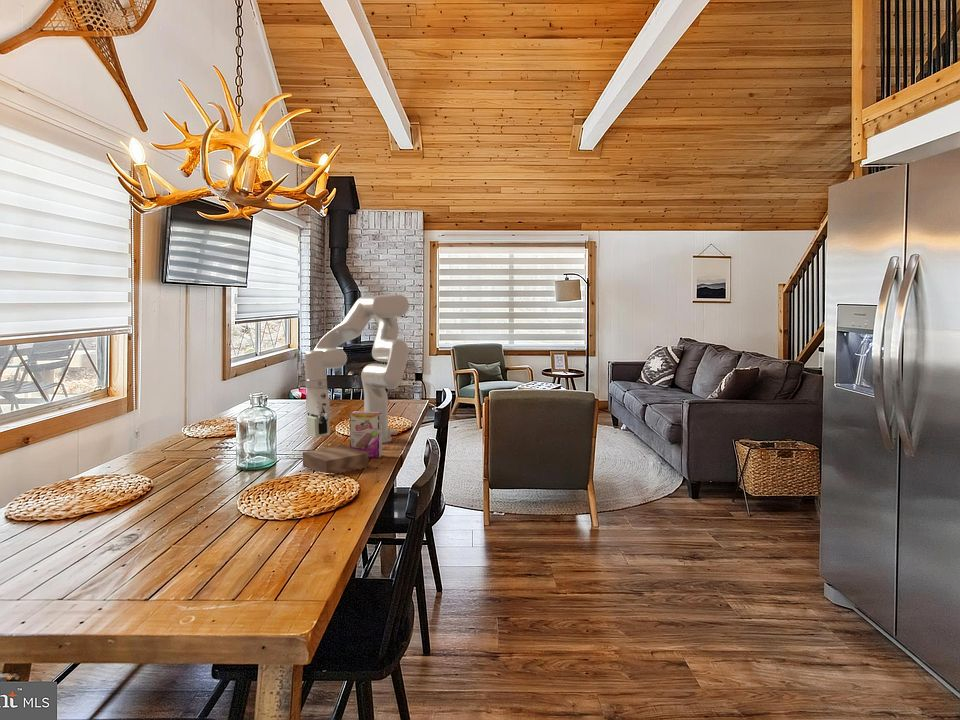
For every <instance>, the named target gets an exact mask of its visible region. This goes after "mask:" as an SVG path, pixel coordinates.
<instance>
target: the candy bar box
mask: <svg viewBox="0 0 960 720" xmlns="http://www.w3.org/2000/svg"><path fill="white" fill-rule="evenodd" d="M349 447H350V448H353V449H357V450H360V451H363V452H366V453H368V457H369V458H371V459H372V458H375V459H379V458H381V457H382V456H383V443H382V412H365V411H364V410H363V411H362V410H361V411H360V410H357V411H356V410H353V411H352V412H350V413H349ZM369 458H368V459H369Z"/></svg>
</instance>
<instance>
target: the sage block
mask: <svg viewBox="0 0 960 720" xmlns="http://www.w3.org/2000/svg"><path fill="white" fill-rule="evenodd" d="M322 414H323V413H321V415H322ZM305 417H306V430H307V433H306V434H307V436H310V437H312V438H314V439H315V438H316V439H317V438H321V437H326V436H330V435H331V426H330V425H331V423H330V417H329V418H328V422H327V433H325V434H319V425H318V423H319V418H318V416H317V415H312V416H308V415H307V416H305ZM323 417H324V416H322V417H321V419H322V418H323Z"/></svg>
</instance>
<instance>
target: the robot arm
mask: <svg viewBox="0 0 960 720" xmlns="http://www.w3.org/2000/svg"><path fill="white" fill-rule="evenodd" d="M409 309H410V303H409V300H408V298H407V297H406V296H404V295H401V294H380V295H376V296H375V295H374V296H373V295H371V296H360V297H359V298H358V299H357V300H356V301H355V302H354V303H353V305H352V307H350V310H349V311H348V312H347V314H346V315H345V316H344V318H343V319H342V322H341V323H339V324H338V325H336V326H335V327H333V328H332V329H331V330H330V331H328V332H327V333H326V334H324V335H323V336H322V337H321V338H320V340H319V341H318V342H317V343H316V346H315V347H314V349H312V350H311V349H310V350H307V351H305V353H304V373H305V378H304V379H305V388H306V391H305V392H306V396H305V405H306V409H305V411H306V413H307V416H312V415H317V416H318V418H319V423H318V425H319V434H325V433H327V422H328V418H329V419H330V414H331V403H330V402H331V401H330V394H329V390H328V380H327V379H328V378H327V369H341V368H342V367H344V366H345V365H346V363H347V362H348V356H347V354H346V352H345V351H344V350H343V349H342V348H341V349H340V348H338V347H339V346H341V345H342V344H345V343H347V342H349V341H351V340H354V339H356V338H358V337H360V336H361V334H362V333H363V331H364V330H365V329H366V327H367V325H368V324H369V322H370V321H371V319H376V320H377V325H378V326H377V330H376V334H375V338H374V341H373V344H372V345H373V346H372V349H371V356H372V358H373V359H374V360H375V361H378V362H380V363H369V364H367V365H365V366H364V367H363V369H362V371H361V375H360V376H361V377H360V379H361V383H362V388H363V408H364V409H363V411H365V412H382V444H387V443H389V442H392V440H393V437H392V435H397V434H398V432H399V430H398V428H396V429H395V428H394V429H391V428H389V416H388V415H389V408H388V407H389V400H388V399H389V398H388V392H387V390H386V389H388V390H389V389H390V390H392V389H393V390H394V389H396V388H398V387H399V386H400V385H401V383H402V381H403V377H404V373H405V370H406V367H407V363H408V359H409V345H408V344H407V343H406V342H405V341H404V340H403V339H400V338H398V335H399V328H400V327H399V324H398V322H397V321H398V320H397V319H396V318H397V317H402V316H404V315H405V314H406V313H408V311H409ZM381 362H383V363H381ZM384 363H386V364H384ZM321 414H322V415H321ZM322 416H324V417H323V418H322V419H321V417H322Z"/></svg>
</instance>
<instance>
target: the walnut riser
mask: <svg viewBox="0 0 960 720" xmlns="http://www.w3.org/2000/svg"><path fill="white" fill-rule="evenodd" d="M303 466H304V467H303ZM302 467H303V468H305V467H307V468H310V469H313V470H315V471H320V472H325V473H336V474H335V475H339V474H343V473H342V472H344V473H347V472H346V471H349V472H352V471H351V470H354V471H357V470H356V469H359V470H363V469H362V468H364V469H367V467H368V468H369V458H368V453H366V452H363V451H360V450H357V449H353V448H350V446H347V445H345V444H344V445H338V446H332V447H327V448H320V449H314V450H309V451H308V450H307V451H303V452H302ZM307 468H306V469H307ZM310 469H309V470H310ZM315 471H314V472H315ZM338 473H339V474H338Z"/></svg>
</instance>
